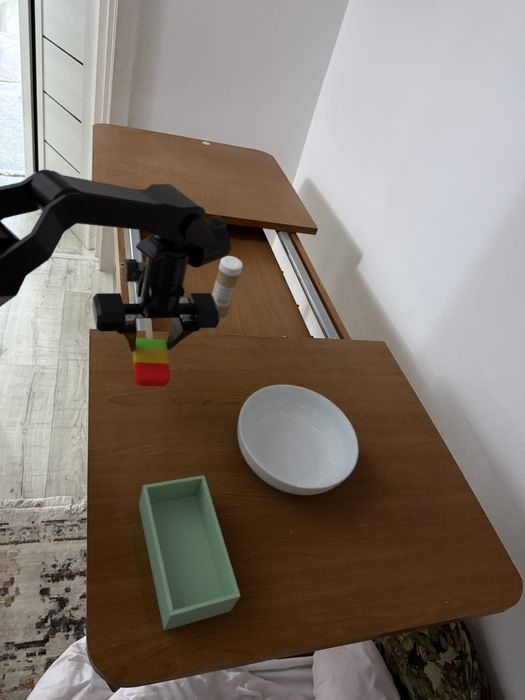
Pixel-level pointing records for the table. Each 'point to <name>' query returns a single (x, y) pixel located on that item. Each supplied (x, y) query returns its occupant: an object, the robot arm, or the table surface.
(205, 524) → the bin
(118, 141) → the table surface
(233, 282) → the sprinkles bottle
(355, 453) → the serving bowl
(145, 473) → the table surface
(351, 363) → the table surface
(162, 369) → the popsicle
